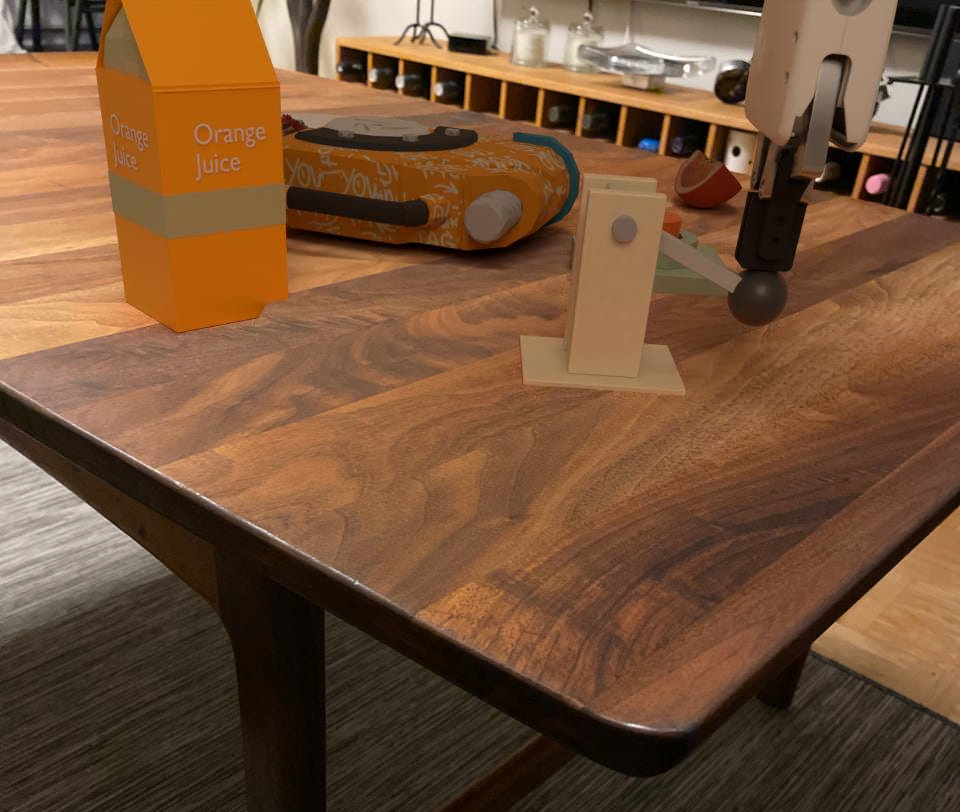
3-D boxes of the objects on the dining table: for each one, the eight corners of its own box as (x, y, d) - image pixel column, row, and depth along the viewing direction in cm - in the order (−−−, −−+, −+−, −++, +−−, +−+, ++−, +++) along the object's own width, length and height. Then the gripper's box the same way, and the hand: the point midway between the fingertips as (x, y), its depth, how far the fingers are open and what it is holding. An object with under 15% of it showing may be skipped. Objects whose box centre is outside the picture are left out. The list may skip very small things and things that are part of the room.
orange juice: (290, 311, 73) (278, -22, 62) (177, 333, 68) (140, -25, 57) (233, 282, 78) (211, -33, 66) (123, 300, 73) (78, -38, 61)
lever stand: (664, 362, 70) (697, 176, 63) (683, 409, 63) (721, 207, 57) (518, 352, 70) (535, 164, 63) (521, 398, 63) (541, 193, 56)
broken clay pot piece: (662, 195, 112) (670, 145, 109) (720, 198, 113) (730, 148, 110) (685, 215, 106) (694, 162, 103) (747, 217, 107) (758, 165, 104)
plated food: (422, 197, 104) (423, 160, 102) (140, 165, 107) (136, 129, 105) (473, 145, 128) (475, 115, 126) (243, 121, 131) (241, 91, 129)
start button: (674, 233, 84) (678, 211, 83) (681, 247, 81) (685, 224, 80) (625, 230, 84) (629, 207, 83) (631, 243, 81) (634, 220, 80)
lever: (757, 325, 66) (792, 274, 64) (770, 344, 63) (806, 292, 61) (581, 226, 63) (612, 169, 61) (585, 241, 60) (618, 183, 58)
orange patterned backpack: (524, 181, 75) (160, 129, 81) (513, 294, 80) (171, 237, 86) (590, 134, 93) (287, 94, 99) (578, 229, 98) (290, 185, 104)
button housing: (707, 271, 89) (716, 223, 87) (729, 308, 81) (740, 256, 79) (569, 261, 89) (575, 212, 86) (577, 297, 80) (584, 244, 78)
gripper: (978, -101, 46) (858, 310, 56) (875, -99, 58) (792, 239, 69) (812, -117, 45) (723, 299, 56) (743, -112, 58) (681, 230, 68)
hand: (761, 265), depth 62 cm, fingers closed
